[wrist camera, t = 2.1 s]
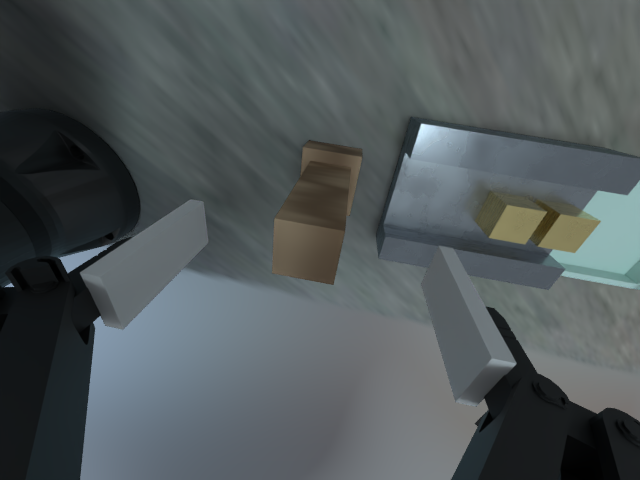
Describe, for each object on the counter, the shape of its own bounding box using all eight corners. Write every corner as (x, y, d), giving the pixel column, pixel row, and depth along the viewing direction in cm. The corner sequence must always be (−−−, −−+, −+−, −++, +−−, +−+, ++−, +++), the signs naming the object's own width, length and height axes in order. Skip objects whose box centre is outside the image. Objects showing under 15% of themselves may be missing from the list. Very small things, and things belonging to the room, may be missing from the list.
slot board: (376, 235, 28) (378, 258, 24) (411, 116, 22) (421, 123, 18) (523, 262, 27) (548, 289, 24) (604, 148, 21) (655, 161, 17)
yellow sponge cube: (518, 228, 23) (537, 246, 21) (537, 199, 22) (560, 214, 19) (551, 234, 23) (575, 253, 21) (573, 205, 22) (601, 221, 19)
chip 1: (474, 221, 24) (488, 237, 21) (490, 190, 22) (507, 205, 20) (507, 227, 24) (525, 244, 21) (525, 197, 22) (547, 211, 19)
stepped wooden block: (303, 195, 27) (259, 283, 15) (309, 140, 24) (259, 196, 12) (350, 203, 26) (343, 300, 15) (362, 149, 24) (365, 215, 12)
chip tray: (525, 259, 27) (536, 271, 26) (601, 152, 21) (622, 158, 20) (621, 276, 27) (639, 289, 25) (726, 173, 21) (759, 181, 19)
